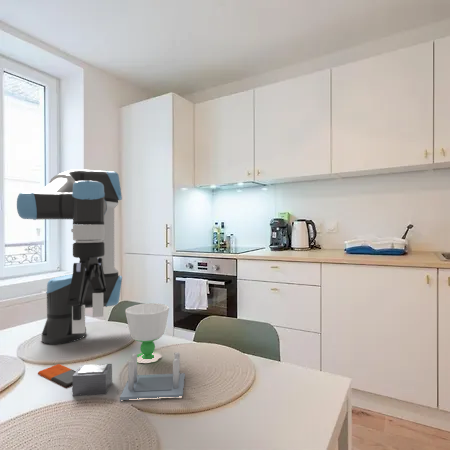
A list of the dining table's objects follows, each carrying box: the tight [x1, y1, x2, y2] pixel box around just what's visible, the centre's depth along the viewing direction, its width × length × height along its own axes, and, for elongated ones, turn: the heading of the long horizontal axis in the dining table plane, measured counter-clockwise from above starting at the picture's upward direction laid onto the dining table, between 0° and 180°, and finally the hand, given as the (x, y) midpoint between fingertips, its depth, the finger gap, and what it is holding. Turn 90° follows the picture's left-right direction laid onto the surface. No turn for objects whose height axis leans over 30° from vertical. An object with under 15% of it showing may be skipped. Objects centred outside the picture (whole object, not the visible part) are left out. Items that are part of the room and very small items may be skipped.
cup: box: [124, 302, 170, 359], centre depth 100 cm, size 14×14×16 cm
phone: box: [37, 363, 77, 389], centre depth 88 cm, size 6×1×15 cm
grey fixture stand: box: [119, 351, 186, 402], centre depth 81 cm, size 11×15×8 cm
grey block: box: [71, 363, 113, 397], centre depth 81 cm, size 6×8×6 cm
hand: (89, 324), depth 80 cm, fingers open, 13 cm apart
